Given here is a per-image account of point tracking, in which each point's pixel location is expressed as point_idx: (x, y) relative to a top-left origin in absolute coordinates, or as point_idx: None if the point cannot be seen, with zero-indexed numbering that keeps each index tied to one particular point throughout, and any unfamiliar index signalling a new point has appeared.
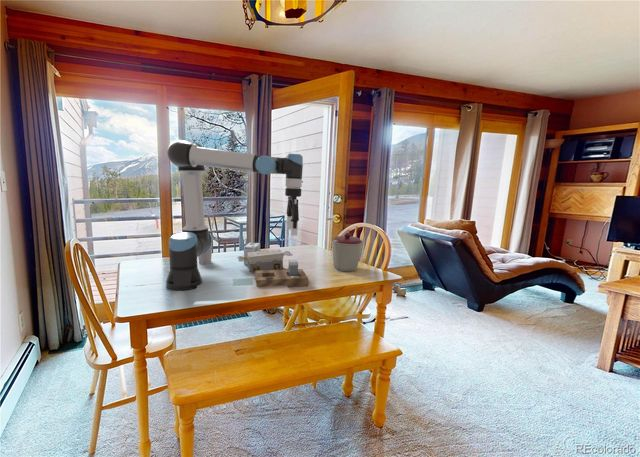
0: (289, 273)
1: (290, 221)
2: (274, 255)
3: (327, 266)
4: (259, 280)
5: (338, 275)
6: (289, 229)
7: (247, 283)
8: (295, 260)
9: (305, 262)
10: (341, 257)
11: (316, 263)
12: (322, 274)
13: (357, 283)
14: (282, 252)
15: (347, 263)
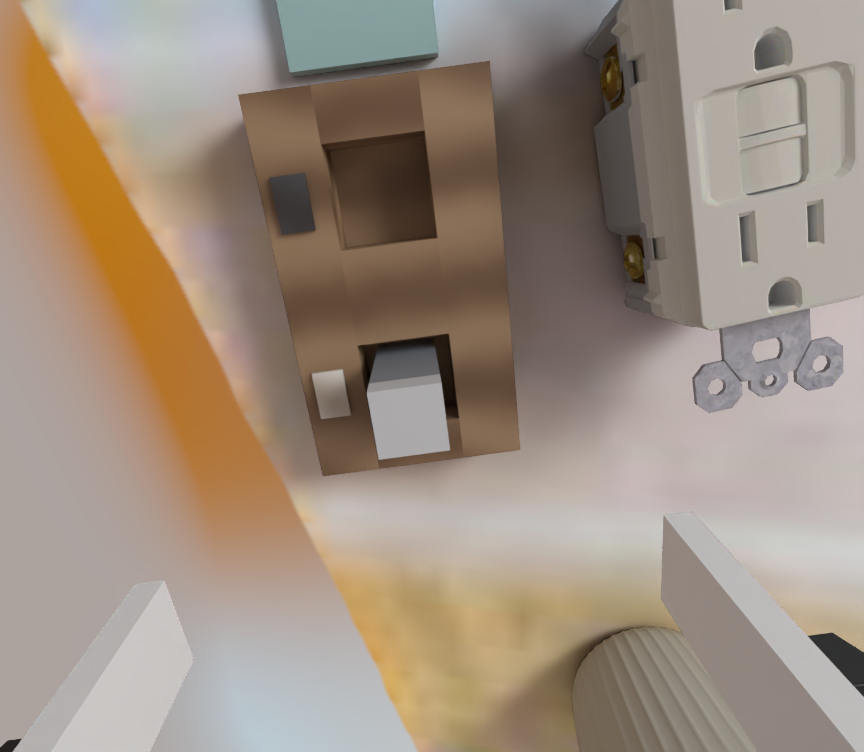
0: (385, 359)
1: (764, 718)
2: (687, 242)
3: None
4: (245, 120)
5: (520, 624)
6: (664, 559)
7: (311, 21)
8: (429, 438)
9: (811, 464)
10: (605, 732)
11: (773, 530)
12: (543, 546)
13: (389, 691)
14: (729, 325)
15: (578, 725)
